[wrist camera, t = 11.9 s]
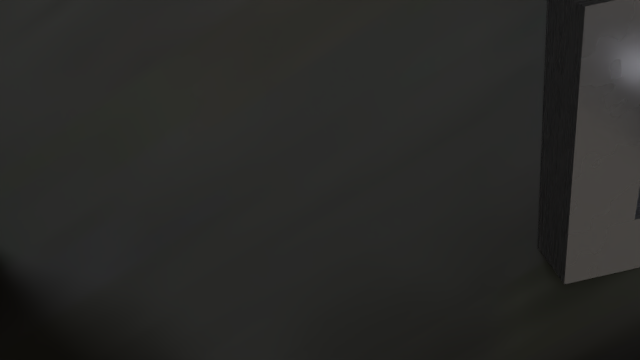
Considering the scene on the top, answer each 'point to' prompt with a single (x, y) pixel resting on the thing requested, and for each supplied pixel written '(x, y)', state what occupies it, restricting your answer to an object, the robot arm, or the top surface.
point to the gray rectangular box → (591, 139)
